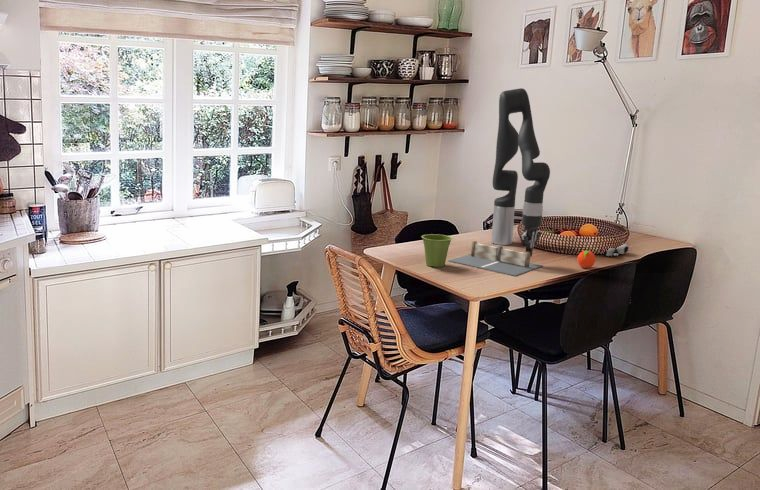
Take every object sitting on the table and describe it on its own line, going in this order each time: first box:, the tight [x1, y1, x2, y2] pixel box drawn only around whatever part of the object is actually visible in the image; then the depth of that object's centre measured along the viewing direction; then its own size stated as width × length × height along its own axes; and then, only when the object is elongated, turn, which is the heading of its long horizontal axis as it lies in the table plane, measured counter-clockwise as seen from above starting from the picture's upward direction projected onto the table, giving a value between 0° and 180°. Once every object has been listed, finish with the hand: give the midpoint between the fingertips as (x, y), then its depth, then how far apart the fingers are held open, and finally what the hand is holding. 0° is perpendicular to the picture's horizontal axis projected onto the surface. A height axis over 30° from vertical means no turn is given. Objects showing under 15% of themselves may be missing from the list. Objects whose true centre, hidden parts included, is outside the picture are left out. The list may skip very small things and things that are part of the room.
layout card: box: [448, 253, 543, 277], centre depth 266 cm, size 22×30×1 cm
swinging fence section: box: [497, 245, 531, 267], centre depth 264 cm, size 14×2×6 cm, turn 50°
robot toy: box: [603, 243, 633, 257], centre depth 290 cm, size 12×4×15 cm
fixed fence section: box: [470, 240, 498, 261], centre depth 272 cm, size 12×2×6 cm, turn 50°
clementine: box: [576, 249, 597, 269], centre depth 264 cm, size 8×7×7 cm
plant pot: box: [421, 233, 453, 268], centre depth 259 cm, size 12×12×11 cm
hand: (528, 256), depth 265 cm, fingers closed
